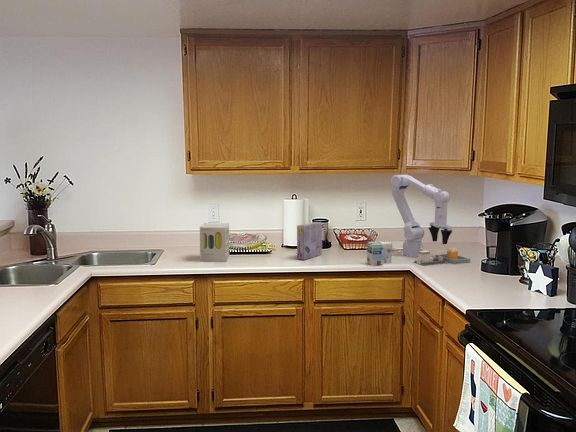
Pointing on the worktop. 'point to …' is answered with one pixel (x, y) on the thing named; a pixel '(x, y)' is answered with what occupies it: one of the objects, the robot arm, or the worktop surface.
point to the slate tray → (459, 261)
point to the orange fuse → (452, 254)
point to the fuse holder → (431, 261)
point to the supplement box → (214, 242)
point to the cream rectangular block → (424, 256)
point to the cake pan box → (309, 240)
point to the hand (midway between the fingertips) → (439, 242)
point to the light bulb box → (379, 253)
